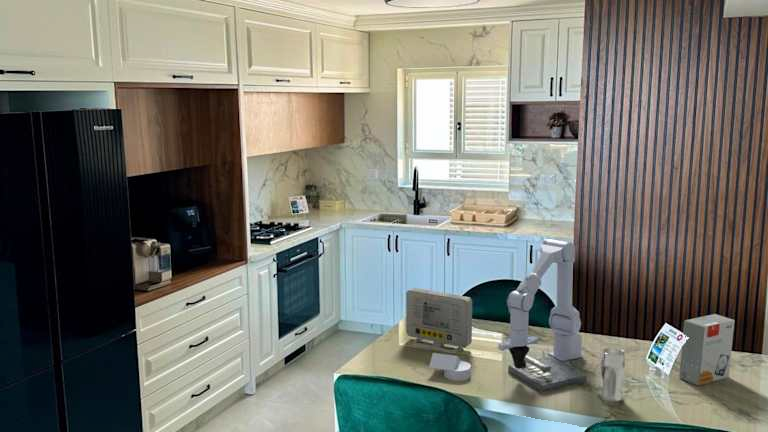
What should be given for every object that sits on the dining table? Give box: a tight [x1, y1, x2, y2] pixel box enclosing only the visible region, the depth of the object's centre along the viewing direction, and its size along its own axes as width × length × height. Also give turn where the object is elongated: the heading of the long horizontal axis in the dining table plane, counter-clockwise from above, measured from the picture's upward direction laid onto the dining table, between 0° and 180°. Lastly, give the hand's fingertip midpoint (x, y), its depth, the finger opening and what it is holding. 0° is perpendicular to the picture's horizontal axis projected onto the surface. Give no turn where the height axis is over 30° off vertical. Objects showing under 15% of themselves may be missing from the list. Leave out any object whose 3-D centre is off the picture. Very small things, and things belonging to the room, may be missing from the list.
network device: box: [405, 287, 473, 354], centre depth 249 cm, size 26×9×20 cm, turn 58°
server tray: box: [507, 355, 588, 394], centre depth 221 cm, size 18×18×4 cm
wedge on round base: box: [428, 352, 472, 382], centre depth 224 cm, size 9×7×13 cm
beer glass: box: [600, 347, 626, 403], centre depth 205 cm, size 7×7×15 cm
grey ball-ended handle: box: [524, 354, 551, 373], centre depth 220 cm, size 14×2×2 cm, turn 25°
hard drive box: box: [678, 313, 735, 386], centre depth 218 cm, size 16×8×20 cm, turn 117°
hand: (518, 367), depth 219 cm, fingers closed
